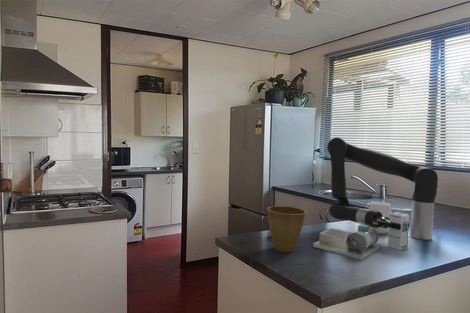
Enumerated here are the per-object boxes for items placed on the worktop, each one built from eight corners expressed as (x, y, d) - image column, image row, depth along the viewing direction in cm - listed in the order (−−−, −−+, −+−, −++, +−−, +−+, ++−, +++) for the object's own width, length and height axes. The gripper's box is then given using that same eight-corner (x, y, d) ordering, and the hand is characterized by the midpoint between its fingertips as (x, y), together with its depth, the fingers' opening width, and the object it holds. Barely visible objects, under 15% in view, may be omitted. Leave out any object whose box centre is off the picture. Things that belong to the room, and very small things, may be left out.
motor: (334, 237, 157) (335, 214, 157) (380, 248, 144) (381, 223, 144) (312, 246, 142) (314, 221, 142) (361, 259, 129) (363, 231, 128)
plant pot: (274, 257, 128) (276, 214, 127) (260, 244, 142) (262, 206, 141) (310, 255, 132) (313, 213, 131) (293, 243, 146) (295, 205, 145)
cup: (362, 231, 170) (364, 203, 169) (366, 226, 182) (367, 199, 181) (392, 236, 164) (394, 207, 163) (394, 230, 176) (396, 203, 175)
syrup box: (400, 250, 142) (403, 215, 141) (387, 246, 147) (389, 212, 146) (407, 248, 146) (410, 214, 145) (394, 244, 150) (396, 211, 150)
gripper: (359, 211, 153) (395, 219, 140) (378, 208, 162) (414, 216, 148) (358, 227, 154) (394, 237, 140) (377, 224, 162) (413, 233, 148)
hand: (404, 226), depth 144 cm, fingers closed on syrup box, 5 cm apart
